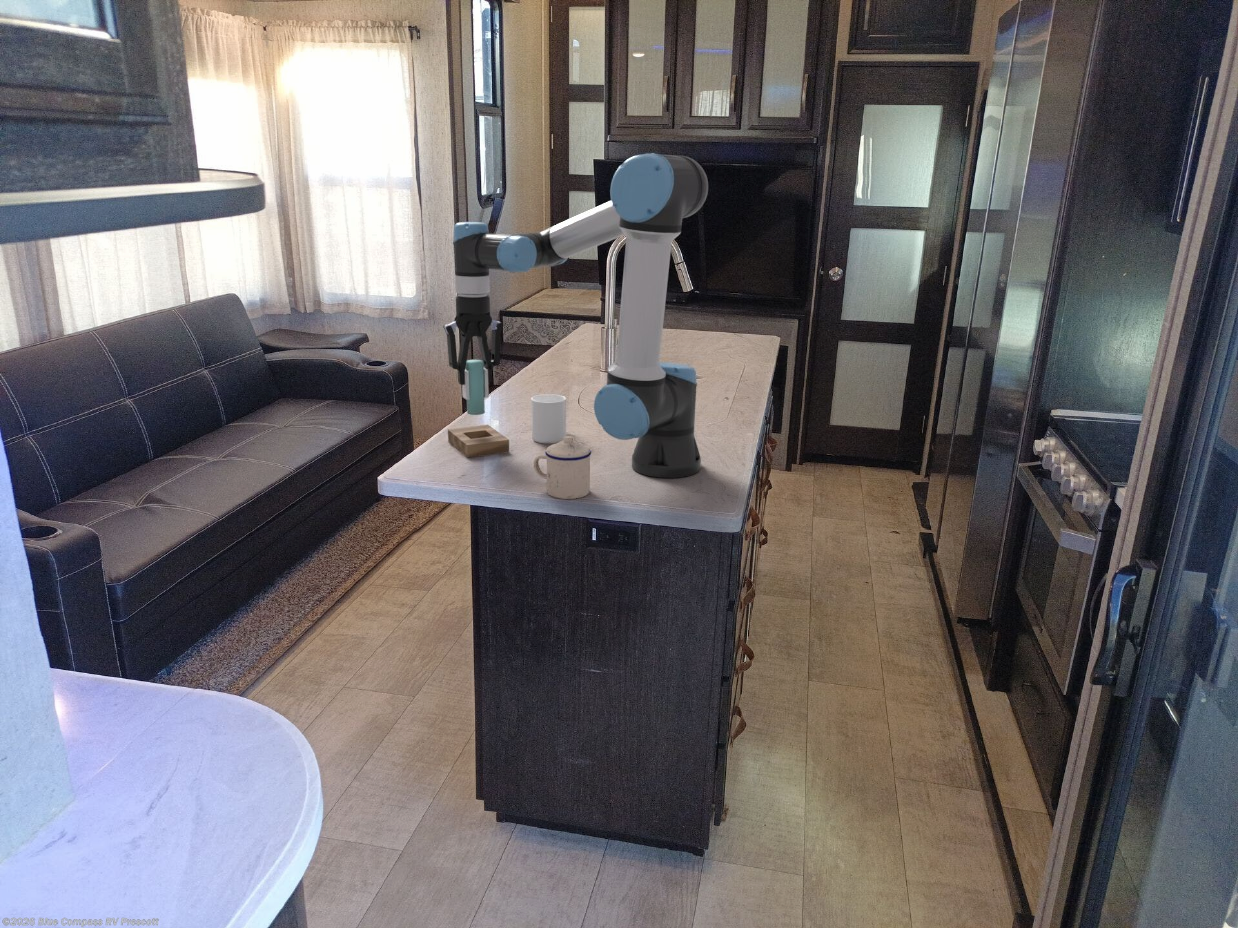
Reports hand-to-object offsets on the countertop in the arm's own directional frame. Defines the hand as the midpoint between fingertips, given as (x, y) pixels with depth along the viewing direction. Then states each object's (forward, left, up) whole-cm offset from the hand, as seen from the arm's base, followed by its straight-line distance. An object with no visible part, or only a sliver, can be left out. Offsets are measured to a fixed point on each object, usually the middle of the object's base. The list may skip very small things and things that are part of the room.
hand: (475, 397), depth 201 cm
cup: (0, -19, -12) cm, 23 cm away
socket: (0, 0, -12) cm, 12 cm away
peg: (0, 0, -4) cm, 4 cm away
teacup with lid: (-36, -5, -12) cm, 39 cm away
